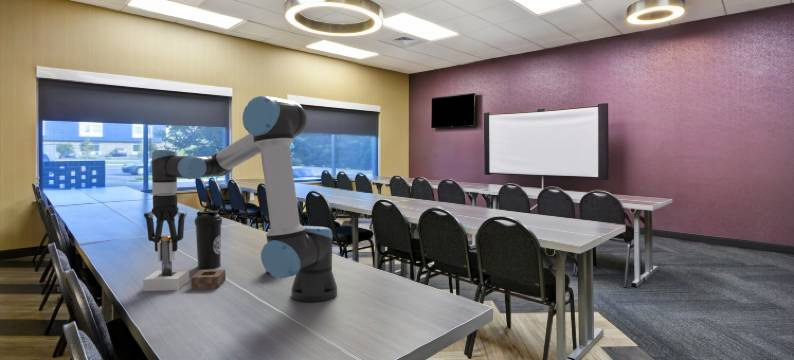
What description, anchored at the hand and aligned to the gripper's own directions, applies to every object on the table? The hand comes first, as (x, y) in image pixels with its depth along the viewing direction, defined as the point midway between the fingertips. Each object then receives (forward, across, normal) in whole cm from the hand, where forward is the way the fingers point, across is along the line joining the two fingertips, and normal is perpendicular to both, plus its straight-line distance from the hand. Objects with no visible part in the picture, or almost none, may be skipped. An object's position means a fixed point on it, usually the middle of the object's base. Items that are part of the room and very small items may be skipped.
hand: (166, 260), depth 148 cm
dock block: (+9, 0, 0) cm, 9 cm away
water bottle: (+9, -7, -24) cm, 27 cm away
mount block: (+9, -14, 0) cm, 17 cm away
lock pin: (+6, 0, 0) cm, 6 cm away
